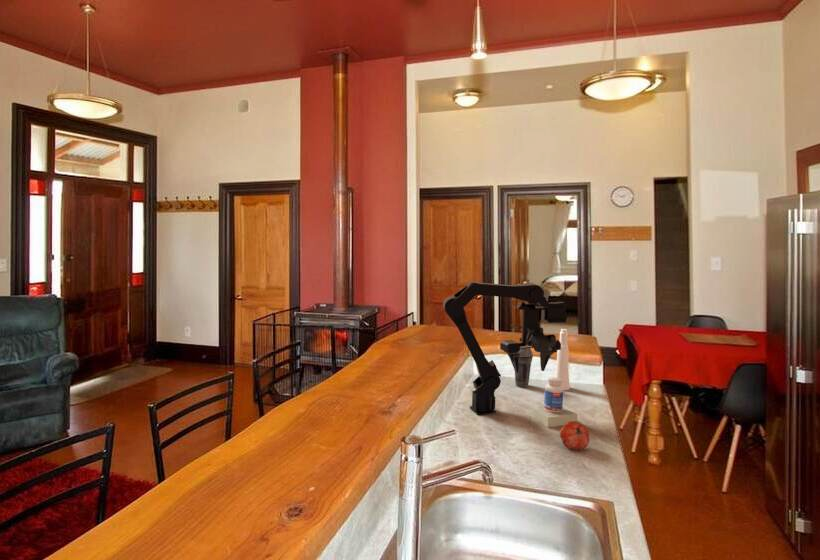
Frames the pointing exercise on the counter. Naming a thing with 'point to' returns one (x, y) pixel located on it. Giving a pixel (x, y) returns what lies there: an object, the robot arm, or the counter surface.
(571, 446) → the pomegranate
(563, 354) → the cosmetic bottle
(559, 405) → the pill bottle
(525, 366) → the beverage cup
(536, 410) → the plinth
